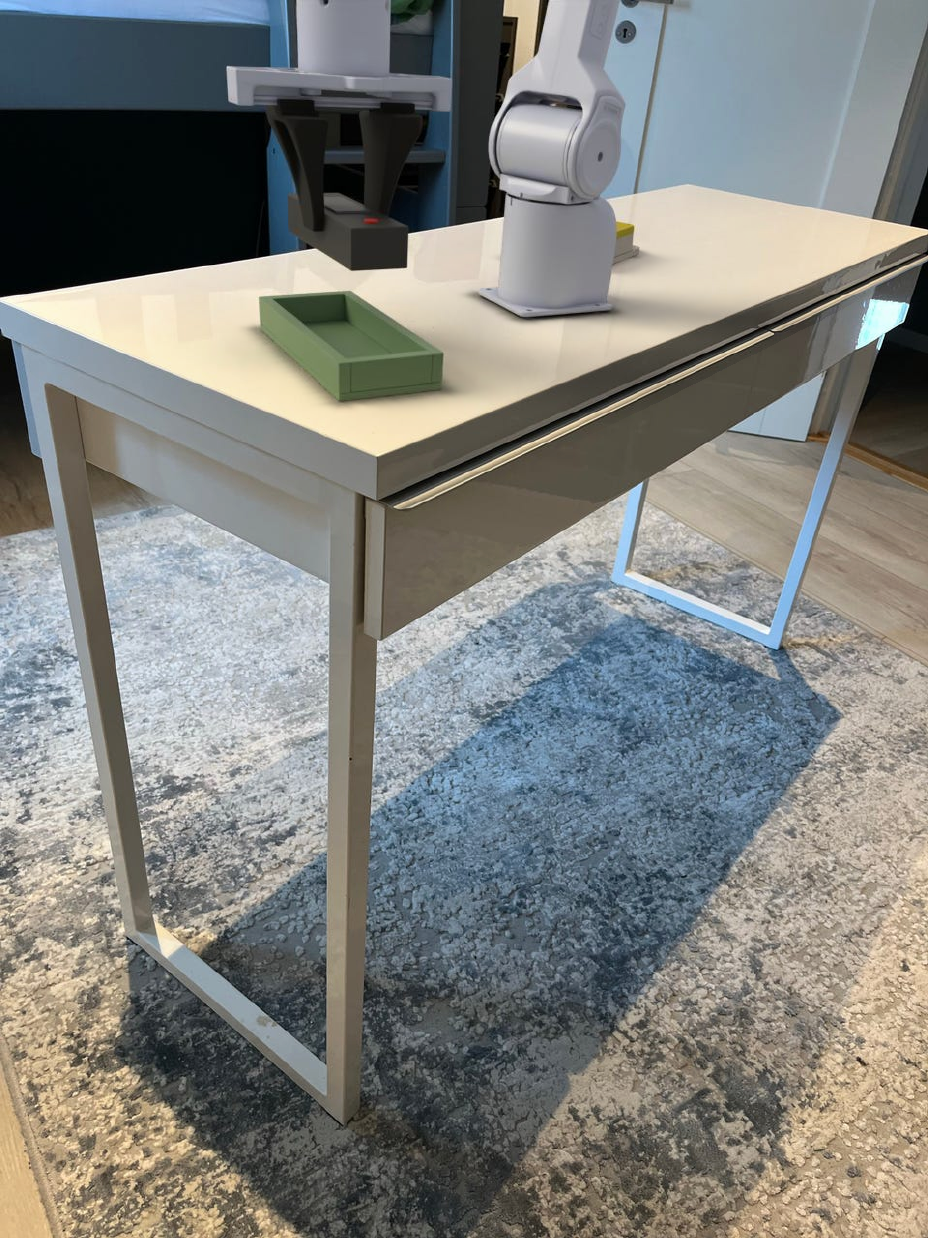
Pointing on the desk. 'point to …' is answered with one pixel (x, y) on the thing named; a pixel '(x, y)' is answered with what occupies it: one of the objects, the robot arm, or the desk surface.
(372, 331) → the tray
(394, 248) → the remote
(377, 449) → the desk surface
